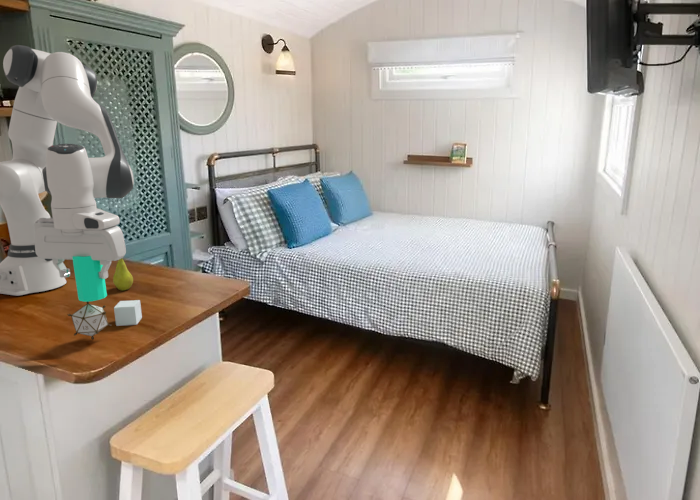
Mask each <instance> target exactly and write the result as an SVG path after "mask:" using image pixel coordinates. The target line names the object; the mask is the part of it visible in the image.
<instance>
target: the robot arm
mask: <svg viewBox="0 0 700 500" xmlns="http://www.w3.org/2000/svg"><path fill="white" fill-rule="evenodd" d="M2 64H3V65H2V67H3V71H4V76H5V78H6V79H7V80H8V82H9V83H11V84H13V85H15V86H18V89H17V92H16V95H15V98H14V102H13V106H12V109H11V110H12V111H11V116H10V120H9V126H8V130H7V135H8V138H9V140H10V141H11V146H12V147H11V148H12V158H11V159H9V160H3V161H0V208H1V209H2V211H3V214H4V217H5V220H6V223H7V228H8V233H9V238H10V244H9V245H6V246H4V247H3V248H4V250H3V251H4V252H5V251H8V252H7V256H6V257H5V258H4V259H3V260H2V261H0V294H3V295H8V296H9V295H10V296H15V297H16V296H18V297H19V296H23V295H28V294H33V293H39V292H45V291H46V292H47V291H49V290H54V289H57V288H60V287H62V286H64V285H65V284H67V282H68V281H67V280H66V279H67V278H69V277H70V276H71V275H72V274H71V269H70V268H67V267H66V264H65V263H64V262H65V260H72V261H73V257H72V256H74V257H75V256H83V257H86V256H91V258H92V260H100V265H103V266H102V269H101V271H99V272H98V277H99V279H105V280H106V279H107V278H109V269H110V266H111V265H112V262H115V261H116V262H118V261H119V259H121V258H122V259H124V257H125V255H126V253H127V249H126V243H125V237H124V233H123V230H122V229H121V228H120V227H119V226H118V225H119V224H120V222H121V221H120V219H121V218H120V217H119V216H118V215H117V214H114V213H113V212H112V213H111V212H109V211H106V210H103V209H101V208H98V207H97V201H96V199H105V198H106V199H123V198H125V197H126V196H127V195H128V194H130V192H131V191H132V190H133V189H134V182H135V179H134V172H133V170H132V168H131V165H130V164H129V162H128V160H127V158H126V155H125V153H124V151H123V147H122V145H121V143H120V140H119V137H118V135H117V131H116V128H115V126H114V123H113V122H112V119H111V116H110V114H109V112H108V110H107V109H106V107H105V106H103V105H101V104H99V103H98V102H96V100H94V96H95V93H96V91H97V89H98V88H97V87H98V77H97V75H96V73H95V71H94V70H93V69H92V68H90V67H88V66H87V65H85V64H83V63H82V62H81V60H80V59H78V57H77V56H74V55H73V54H71V53H69V52H65V51H57V52H56V51H55V52H52V53H50V52H47V51H43V50H40V49H39V50H38V49H34V48H32V47H30V46H28V45H27V46H26V45H20V44H16V45H12V46H10V47H9V49H8V51H7V52H6V53H5V55H4V57H3V62H2ZM57 124H61V125H63V126H65V127H69V128H71V129H72V128H73V129H77V130H79V131H80V130H82V131H84V132H87V133H90V134H92V135H94V136H96V137H97V138H98V139H99V140H100V144H101V147H102V149H103V152H104V156H100V157H99V156H97V157H89V156H88V152H87V150H86V148H85V146H84V145H83V146H82V145H80V144H76V143H58V144H54V140H55V134H56V131H57V129H56V128H57ZM45 192H46V193H48V194H49V195H51V201H50V208H51V215H52V217H51V215H50V213H49V212H48V211H47V210H46V209H45V207H44V205H43V203H42V201H41V199H40V196H39V194H42V193H45Z"/></svg>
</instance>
